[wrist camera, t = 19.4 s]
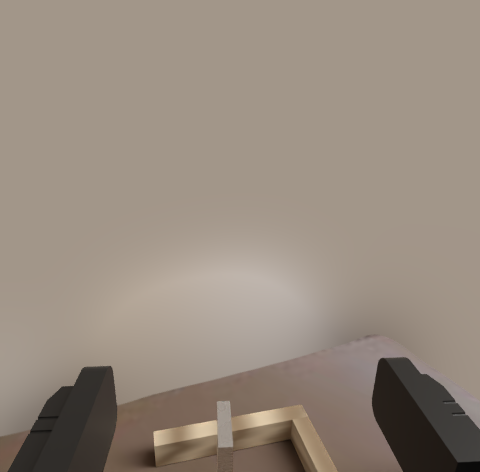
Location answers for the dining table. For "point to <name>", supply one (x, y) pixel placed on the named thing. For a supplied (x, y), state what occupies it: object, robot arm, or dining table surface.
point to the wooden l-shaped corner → (246, 438)
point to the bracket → (224, 437)
